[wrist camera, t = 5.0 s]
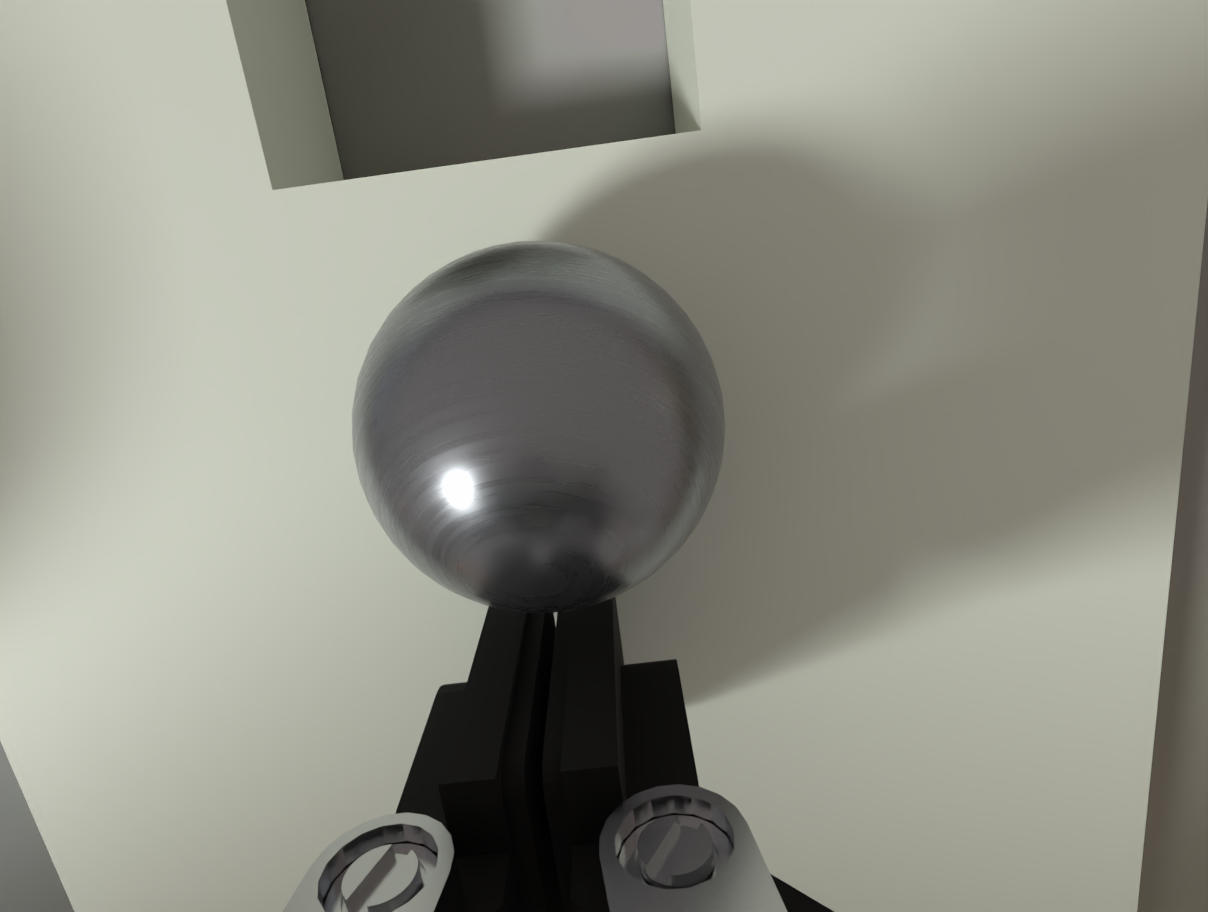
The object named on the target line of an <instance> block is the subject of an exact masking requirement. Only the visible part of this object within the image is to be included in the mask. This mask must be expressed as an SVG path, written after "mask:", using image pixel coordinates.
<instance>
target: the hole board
mask: <svg viewBox="0 0 1208 912" xmlns="http://www.w3.org/2000/svg"><path fill="white" fill-rule="evenodd" d="M663 6H664V17H665V27H666V38H667V48H668V59H669V69H670V80H671V90H672V101H673V111H674V122H675V132H676V134H670V135H663V136H656V137H649V138H642V139H635V140H628V141H620V142H613V143H606V144H599V145H592V146H585V147H578V148H570V149H563V150H556V151H549V152H542V153H535V154H527V155H520V156H513V157H506V158H499V159H492V160H485V161H477V162H470V163H463V164H456V165H449V166H442V167H434V168H427V169H420V170H413V171H406V172H399V173H392V174H384V175H377V176H370V177H363V178H356V179H349V180H344V178H343V173H342V169H341V164H340V160H339V155H338V150H337V146H336V141H335V137H334V132H333V127H332V123H331V118H330V114H329V109H328V105H327V100H326V95H325V91H324V86H323V82H322V77H321V72H320V68H319V63H318V59H317V54H316V50H315V45H314V40H313V36H312V31H311V27H310V22H309V17H308V13H307V8H306V4H305V0H0V741H1V744H2V746H3V748H4V750H5V753H6V755H7V757H8V760H9V762H10V764H11V767H12V769H13V771H14V774H15V776H16V778H17V780H18V783H19V785H20V787H21V790H22V792H23V794H24V797H25V799H26V801H27V804H28V806H29V808H30V810H31V813H32V815H33V817H34V820H35V822H36V824H37V827H38V829H39V831H40V834H41V836H42V838H43V840H44V843H45V845H46V847H47V850H48V852H49V854H50V857H51V859H52V861H53V863H54V866H55V868H56V870H57V873H58V875H59V877H60V880H61V882H62V884H63V887H64V889H65V891H66V893H67V896H68V898H69V900H70V903H71V905H72V907H73V910H74V912H283V910H284V909H285V907H286V905H287V904H288V902H289V900H290V899H291V897H292V896H293V894H294V892H295V891H296V889H297V887H298V886H299V884H300V883H301V881H302V879H303V878H304V876H305V874H306V873H307V871H308V870H309V868H310V867H311V865H312V864H313V863H314V862H315V860H316V859H317V858H318V857H319V855H320V854H321V853H322V852H323V850H324V849H325V848H326V847H328V846H329V845H330V844H331V843H332V842H334V841H335V840H336V839H337V838H339V837H340V836H341V835H342V834H344V833H345V832H347V831H349V830H351V829H353V828H354V827H356V826H358V825H360V824H362V823H364V822H366V821H369V820H372V819H375V818H378V817H381V816H384V815H389V814H395V813H396V810H397V807H398V804H399V801H400V798H401V795H402V792H403V789H404V787H405V784H406V781H407V778H408V775H409V772H410V769H411V766H412V763H413V760H414V757H415V754H416V752H417V749H418V746H419V743H420V740H421V737H422V734H423V731H424V728H425V725H426V722H427V719H428V717H429V714H430V711H431V708H432V705H433V702H434V699H435V696H436V693H437V691H438V689H439V687H440V686H442V685H444V684H453V683H462V682H467V680H468V677H469V673H470V670H471V666H472V663H473V659H474V656H475V652H476V649H477V645H478V642H479V638H480V635H481V631H482V628H483V624H484V621H485V617H486V614H487V610H488V607H489V606H487V605H483V604H480V603H478V602H475V601H472V600H470V599H467V598H465V597H462V596H460V595H458V594H456V593H454V592H452V591H450V590H448V589H446V588H444V587H443V586H441V585H440V584H438V583H437V582H435V581H434V580H432V579H431V578H429V577H428V576H427V575H425V574H424V573H422V572H421V571H420V570H419V569H418V568H416V567H415V566H414V565H413V564H412V563H411V562H410V561H409V560H408V559H407V558H406V557H405V556H404V555H403V554H402V553H401V552H400V550H399V549H398V548H397V547H396V546H395V545H394V544H393V543H392V542H391V540H390V539H389V537H388V536H387V534H386V533H385V531H384V530H383V528H382V527H381V525H380V524H379V522H378V521H377V519H376V518H375V516H374V514H373V512H372V510H371V508H370V505H369V503H368V501H367V498H366V496H365V494H364V491H363V489H362V486H361V484H360V480H359V476H358V471H357V467H356V462H355V458H354V453H353V441H352V409H353V403H354V396H355V391H356V385H357V379H358V376H359V373H360V370H361V368H362V365H363V362H364V359H365V357H366V354H367V352H368V349H369V346H370V344H371V342H372V341H373V339H374V337H375V336H376V334H377V333H378V331H379V329H380V328H381V326H382V325H383V323H384V321H385V320H386V318H387V317H388V315H389V313H390V312H391V311H392V310H393V309H394V308H395V307H396V306H397V304H398V303H399V302H400V301H401V300H402V299H403V298H404V297H405V296H406V295H407V294H408V293H409V292H410V291H411V290H412V289H413V288H414V287H415V286H416V285H418V284H419V283H420V282H421V281H422V280H424V279H425V278H426V277H427V276H429V275H430V274H432V273H434V272H435V271H437V270H439V269H440V268H442V267H443V266H445V265H447V264H449V263H450V262H452V261H454V260H456V259H458V258H460V257H462V256H465V255H467V254H469V253H472V252H474V251H477V250H481V249H484V248H487V247H491V246H494V245H500V244H506V243H512V242H522V241H552V242H563V243H569V244H574V245H580V246H584V247H588V248H591V249H594V250H598V251H601V252H604V253H606V254H609V255H611V256H613V257H616V258H618V259H620V260H622V261H624V262H626V263H627V264H629V265H631V266H633V267H634V268H636V269H638V270H639V271H641V272H642V273H644V274H645V275H646V276H648V277H649V278H650V279H652V280H653V281H654V282H655V283H657V284H658V285H659V286H661V287H662V288H663V289H664V290H665V291H666V292H667V293H668V294H669V295H670V296H671V297H672V298H673V299H674V300H675V301H676V302H677V303H678V304H679V306H680V307H681V308H682V309H683V310H684V312H685V313H686V314H687V315H688V317H689V318H690V320H691V321H692V323H693V324H694V325H695V327H696V328H697V330H698V331H699V333H700V335H701V337H702V339H703V341H704V343H705V345H706V347H707V349H708V351H709V354H710V356H711V358H712V360H713V363H714V366H715V370H716V373H717V377H718V380H719V384H720V388H721V391H722V396H723V407H724V419H725V438H724V449H723V457H722V464H721V468H720V471H719V475H718V479H717V482H716V485H715V488H714V492H713V495H712V497H711V499H710V501H709V503H708V506H707V508H706V510H705V512H704V514H703V516H702V517H701V519H700V521H699V523H698V525H697V526H696V528H695V529H694V530H693V532H692V533H691V535H690V536H689V538H688V539H687V540H686V542H685V543H684V544H683V545H682V547H681V548H680V549H679V550H678V551H677V552H676V553H675V554H674V555H673V556H672V557H671V558H670V559H669V560H668V561H667V562H666V563H665V564H664V565H663V566H662V567H661V568H660V569H659V570H658V571H657V572H655V573H654V574H652V575H651V576H650V577H648V578H647V579H645V580H644V581H642V582H641V583H639V584H638V585H636V586H635V587H633V588H631V589H629V590H628V591H626V592H624V593H622V594H620V595H618V596H616V605H617V612H618V620H619V628H620V635H621V643H622V651H623V658H624V665H626V664H635V663H644V662H653V661H663V660H672V659H676V660H677V664H678V669H679V675H680V680H681V686H682V692H683V697H684V703H685V709H686V714H687V720H688V726H689V731H690V737H691V743H692V748H693V754H694V760H695V765H696V771H697V777H698V783H699V787H702V788H704V789H707V790H710V791H712V792H715V793H717V794H720V795H721V796H723V797H724V798H725V799H727V800H728V801H729V802H731V803H732V804H733V805H735V806H736V807H737V809H738V810H739V811H740V813H741V814H742V816H743V817H744V819H745V820H746V822H747V823H748V826H749V828H750V830H751V832H752V834H753V837H754V839H755V841H756V843H757V845H758V848H759V850H760V852H761V854H762V857H763V859H764V861H765V863H766V865H767V868H768V870H769V872H770V874H772V875H773V876H775V877H777V878H778V879H780V880H782V881H783V882H785V883H787V884H789V885H790V886H792V887H794V888H795V889H797V890H799V891H800V892H802V893H804V894H805V895H807V896H809V897H810V898H812V899H814V900H815V901H817V902H819V903H821V904H822V905H824V906H826V907H827V908H829V909H831V910H832V911H834V912H1137V907H1138V897H1139V887H1140V877H1141V867H1142V857H1143V847H1144V836H1145V826H1146V816H1147V806H1148V796H1149V786H1150V776H1151V766H1152V756H1153V746H1154V736H1155V726H1156V716H1157V706H1158V696H1159V685H1160V675H1161V665H1162V655H1163V645H1164V635H1165V625H1166V615H1167V605H1168V595H1169V585H1170V575H1171V565H1172V555H1173V544H1174V534H1175V524H1176V514H1177V504H1178V494H1179V484H1180V474H1181V464H1182V454H1183V444H1184V434H1185V424H1186V414H1187V404H1188V393H1189V383H1190V373H1191V363H1192V353H1193V343H1194V333H1195V323H1196V313H1197V303H1198V293H1199V283H1200V273H1201V263H1202V253H1203V242H1204V232H1205V222H1206V212H1207V202H1208V0H663ZM557 613H558V612H555V613H554V619H555V625H556V623H557Z"/></svg>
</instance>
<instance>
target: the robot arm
mask: <svg viewBox="0 0 1208 912" xmlns="http://www.w3.org/2000/svg"><path fill="white" fill-rule="evenodd" d="M283 912H834V911H832V910H831V909H829V908H827V907H826V906H824V905H822V904H821V903H819V902H817V901H815V900H814V899H812V898H810V897H809V896H807V895H805V894H804V893H802V892H800V891H799V890H797V889H795V888H794V887H792V886H790V885H789V884H787V883H785V882H783V881H782V880H780V879H778V878H777V877H775V876H773V875H772V874H770V872H769V870H768V868H767V865H766V863H765V861H764V859H763V857H762V854H761V852H760V850H759V848H758V845H757V843H756V841H755V839H754V837H753V834H752V832H751V830H750V828H749V826H748V823H747V822H746V820H745V819H744V817H743V816H742V814H741V813H740V811H739V810H738V809H737V807H736V806H735V805H733V804H732V803H731V802H729V801H728V800H727V799H725V798H724V797H723V796H721V795H720V794H717V793H715V792H712V791H710V790H707V789H704V788H702V787H699V783H698V777H697V771H696V765H695V760H694V754H693V748H692V743H691V737H690V731H689V726H688V720H687V714H686V709H685V703H684V697H683V692H682V686H681V680H680V675H679V669H678V664H677V660H676V659H672V660H663V661H653V662H644V663H635V664H626V665H624V658H623V651H622V643H621V635H620V628H619V620H618V612H617V605H616V597H613V598H611V599H608V600H605V601H603V602H600V603H597V604H594V605H591V606H588V607H584V608H580V609H575V610H570V611H564V612H558V613H557V623H556V625H555V619H554V613H524V612H514V611H508V610H502V609H498V608H493V607H490V606H489V607H488V610H487V614H486V617H485V621H484V624H483V628H482V631H481V635H480V638H479V642H478V645H477V649H476V652H475V656H474V659H473V663H472V666H471V670H470V673H469V677H468V680H467V682H462V683H453V684H444V685H442V686H440V687H439V689H438V691H437V693H436V696H435V699H434V702H433V705H432V708H431V711H430V714H429V717H428V719H427V722H426V725H425V728H424V731H423V734H422V737H421V740H420V743H419V746H418V749H417V752H416V754H415V757H414V760H413V763H412V766H411V769H410V772H409V775H408V778H407V781H406V784H405V787H404V789H403V792H402V795H401V798H400V801H399V804H398V807H397V810H396V813H395V814H389V815H384V816H381V817H378V818H375V819H372V820H369V821H366V822H364V823H362V824H360V825H358V826H356V827H354V828H353V829H351V830H349V831H347V832H345V833H344V834H342V835H341V836H340V837H339V838H337V839H336V840H335V841H334V842H332V843H331V844H330V845H329V846H328V847H326V848H325V849H324V850H323V852H322V853H321V854H320V855H319V857H318V858H317V859H316V860H315V862H314V863H313V864H312V865H311V867H310V868H309V870H308V871H307V873H306V874H305V876H304V878H303V879H302V881H301V883H300V884H299V886H298V887H297V889H296V891H295V892H294V894H293V896H292V897H291V899H290V900H289V902H288V904H287V905H286V907H285V909H284V910H283Z"/></svg>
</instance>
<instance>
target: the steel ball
mask: <svg viewBox="0 0 1208 912" xmlns="http://www.w3.org/2000/svg"><path fill="white" fill-rule="evenodd" d="M724 438H725V419H724V407H723V396H722V391H721V388H720V384H719V380H718V377H717V373H716V370H715V366H714V363H713V360H712V358H711V356H710V354H709V351H708V349H707V347H706V345H705V343H704V341H703V339H702V337H701V335H700V333H699V331H698V330H697V328H696V327H695V325H694V324H693V323H692V321H691V320H690V318H689V317H688V315H687V314H686V313H685V312H684V310H683V309H682V308H681V307H680V306H679V304H678V303H677V302H676V301H675V300H674V299H673V298H672V297H671V296H670V295H669V294H668V293H667V292H666V291H665V290H664V289H663V288H662V287H661V286H659V285H658V284H657V283H655V282H654V281H653V280H652V279H650V278H649V277H648V276H646V275H645V274H644V273H642V272H641V271H639V270H638V269H636V268H634V267H633V266H631V265H629V264H627V263H626V262H624V261H622V260H620V259H618V258H616V257H613V256H611V255H609V254H606V253H604V252H601V251H598V250H594V249H591V248H588V247H584V246H580V245H574V244H569V243H563V242H552V241H522V242H512V243H506V244H500V245H494V246H491V247H487V248H484V249H481V250H477V251H474V252H472V253H469V254H467V255H465V256H462V257H460V258H458V259H456V260H454V261H452V262H450V263H449V264H447V265H445V266H443V267H442V268H440V269H439V270H437V271H435V272H434V273H432V274H430V275H429V276H427V277H426V278H425V279H424V280H422V281H421V282H420V283H419V284H418V285H416V286H415V287H414V288H413V289H412V290H411V291H410V292H409V293H408V294H407V295H406V296H405V297H404V298H403V299H402V300H401V301H400V302H399V303H398V304H397V306H396V307H395V308H394V309H393V310H392V311H391V312H390V313H389V315H388V317H387V318H386V320H385V321H384V323H383V325H382V326H381V328H380V329H379V331H378V333H377V334H376V336H375V337H374V339H373V341H372V342H371V344H370V346H369V349H368V352H367V354H366V357H365V359H364V362H363V365H362V368H361V370H360V373H359V376H358V379H357V385H356V391H355V396H354V403H353V409H352V441H353V453H354V458H355V462H356V467H357V471H358V476H359V480H360V484H361V486H362V489H363V491H364V494H365V496H366V498H367V501H368V503H369V505H370V508H371V510H372V512H373V514H374V516H375V518H376V519H377V521H378V522H379V524H380V525H381V527H382V528H383V530H384V531H385V533H386V534H387V536H388V537H389V539H390V540H391V542H392V543H393V544H394V545H395V546H396V547H397V548H398V549H399V550H400V552H401V553H402V554H403V555H404V556H405V557H406V558H407V559H408V560H409V561H410V562H411V563H412V564H413V565H414V566H415V567H416V568H418V569H419V570H420V571H421V572H422V573H424V574H425V575H427V576H428V577H429V578H431V579H432V580H434V581H435V582H437V583H438V584H440V585H441V586H443V587H444V588H446V589H448V590H450V591H452V592H454V593H456V594H458V595H460V596H462V597H465V598H467V599H470V600H472V601H475V602H478V603H480V604H483V605H487V606H490V607H493V608H498V609H502V610H508V611H514V612H524V613H555V612H564V611H570V610H575V609H580V608H584V607H588V606H591V605H594V604H597V603H600V602H603V601H605V600H608V599H611V598H613V597H616V596H618V595H620V594H622V593H624V592H626V591H628V590H629V589H631V588H633V587H635V586H636V585H638V584H639V583H641V582H642V581H644V580H645V579H647V578H648V577H650V576H651V575H652V574H654V573H655V572H657V571H658V570H659V569H660V568H661V567H662V566H663V565H664V564H665V563H666V562H667V561H668V560H669V559H670V558H671V557H672V556H673V555H674V554H675V553H676V552H677V551H678V550H679V549H680V548H681V547H682V545H683V544H684V543H685V542H686V540H687V539H688V538H689V536H690V535H691V533H692V532H693V530H694V529H695V528H696V526H697V525H698V523H699V521H700V519H701V517H702V516H703V514H704V512H705V510H706V508H707V506H708V503H709V501H710V499H711V497H712V495H713V492H714V488H715V485H716V482H717V479H718V475H719V471H720V468H721V464H722V457H723V449H724Z"/></svg>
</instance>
